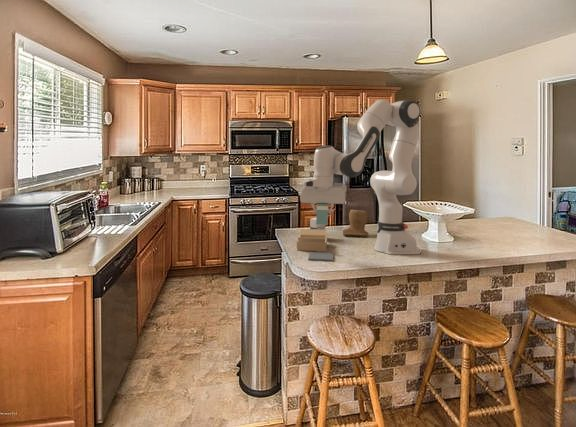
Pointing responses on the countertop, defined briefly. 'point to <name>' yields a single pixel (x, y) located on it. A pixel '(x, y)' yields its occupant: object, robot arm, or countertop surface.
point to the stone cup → (356, 223)
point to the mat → (320, 256)
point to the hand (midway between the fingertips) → (322, 213)
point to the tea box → (322, 213)
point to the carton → (312, 240)
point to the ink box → (316, 225)
